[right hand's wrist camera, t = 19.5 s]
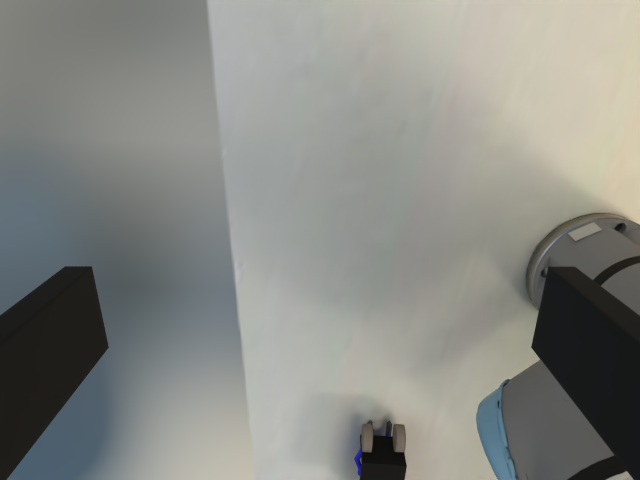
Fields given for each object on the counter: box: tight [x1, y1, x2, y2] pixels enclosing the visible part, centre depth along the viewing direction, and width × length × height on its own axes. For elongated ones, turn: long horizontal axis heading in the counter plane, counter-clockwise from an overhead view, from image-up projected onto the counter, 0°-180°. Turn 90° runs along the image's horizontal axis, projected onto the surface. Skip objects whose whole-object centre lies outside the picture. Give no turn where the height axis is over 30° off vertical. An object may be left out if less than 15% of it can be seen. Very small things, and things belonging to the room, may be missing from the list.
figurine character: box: [354, 420, 407, 480], centre depth 62 cm, size 7×8×15 cm
